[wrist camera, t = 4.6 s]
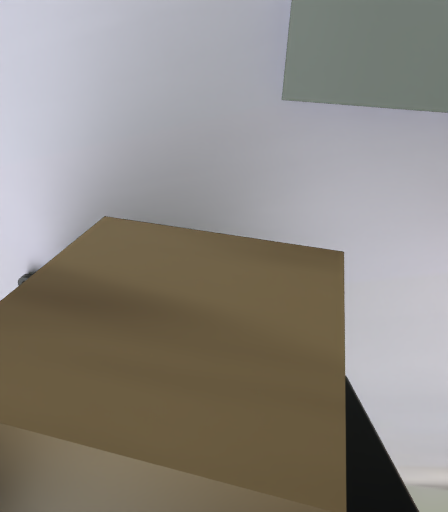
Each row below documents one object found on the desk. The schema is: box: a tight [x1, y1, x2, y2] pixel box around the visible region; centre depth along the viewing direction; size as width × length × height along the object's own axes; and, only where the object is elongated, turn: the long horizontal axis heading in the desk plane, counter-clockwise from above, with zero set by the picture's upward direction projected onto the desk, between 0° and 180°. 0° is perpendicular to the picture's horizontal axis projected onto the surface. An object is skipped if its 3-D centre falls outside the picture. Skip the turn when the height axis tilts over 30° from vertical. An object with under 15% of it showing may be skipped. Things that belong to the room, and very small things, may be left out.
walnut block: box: [0, 216, 346, 512], centre depth 7 cm, size 5×5×5 cm
